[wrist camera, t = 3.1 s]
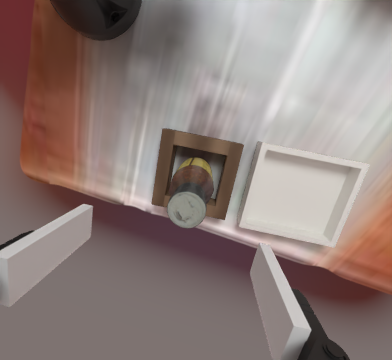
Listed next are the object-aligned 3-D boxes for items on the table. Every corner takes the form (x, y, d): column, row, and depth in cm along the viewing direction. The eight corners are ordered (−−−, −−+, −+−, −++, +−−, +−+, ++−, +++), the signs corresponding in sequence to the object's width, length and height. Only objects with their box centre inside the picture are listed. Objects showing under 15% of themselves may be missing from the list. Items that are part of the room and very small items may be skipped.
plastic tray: (236, 218, 41) (239, 226, 37) (257, 141, 37) (262, 142, 33) (324, 237, 40) (334, 247, 37) (355, 161, 36) (370, 164, 33)
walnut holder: (157, 197, 41) (151, 204, 37) (167, 128, 38) (162, 128, 34) (223, 211, 41) (224, 219, 37) (240, 143, 37) (243, 145, 33)
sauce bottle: (181, 187, 40) (152, 239, 21) (179, 156, 39) (146, 182, 19) (213, 186, 40) (215, 239, 20) (212, 155, 38) (212, 180, 19)
